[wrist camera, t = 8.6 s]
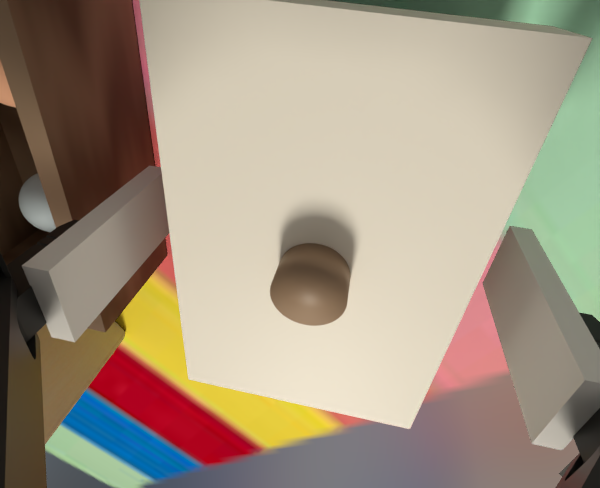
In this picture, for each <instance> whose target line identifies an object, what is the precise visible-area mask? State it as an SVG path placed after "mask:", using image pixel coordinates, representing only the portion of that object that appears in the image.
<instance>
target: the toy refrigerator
mask: <svg viewBox="0 0 600 488" xmlns="http://www.w3.org/2000/svg"><path fill="white" fill-rule="evenodd" d="M37 334H38V337H39V339H40V351H41V373H42V395H43V417H44V439H45V444H46V442H47V441H48V440H49V438H50V437H51V436H52V435H53V433H54V432H55V431H56V429H57V428H58V427H59V425H60V424H61V422H62V421H63V420H64V418H65V417H66V416H67V414H68V413H69V412H70V410H71V409H72V408H73V406H74V405H75V404H76V402H77V401H78V399H79V398H80V397H81V395H82V394H83V393H84V391H85V390H86V389H87V387H88V386H89V385H90V383H91V382H92V381H93V379H94V378H95V377H96V375H97V374H98V373H99V371H100V370H101V369H102V367H103V366H104V364H105V363H106V362H107V361H108V359H109V358H110V357H111V355H112V354H113V352H114V351H115V350H116V348H117V347H118V346H119V344H120V343H121V342H122V340H123V338H124V336H125V331H124V330H123V329H122V328H121V327H120V326H119V325H118V324H117V323H116V322H115V321H114V323H113V324H112V325H111V326H110V328H109V329H108V330H107V331H106V332H102V331H97V330H92V329H88V328H87V329H86V330H85V331H84V333H83V334H82V335H81V336H80V337H79V338H78V340H77V341H76V342H71V341H67V340H62V339H58V338H53V337H51V334H50V332H49V330H48V327H47V325H46V324H45V325H44V326H43V327H42V328H41V329H40V330H39V331H38V332H37Z"/></svg>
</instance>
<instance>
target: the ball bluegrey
mask: <svg viewBox="0 0 600 488" xmlns="http://www.w3.org/2000/svg"><path fill="white" fill-rule="evenodd" d="M19 207H20V210H21V212H22V214H23V216H24V217H25V218H26V220H27V221H28V222H29V223H31V224H32V225H33V226H35V227H36V228H38V229H41V230H43V231H46V232H52V231H53V230H54V229H56V227H55V224H54V221H53V217H52V214H51V211H50V208H49V205H48V202H47V199H46V196H45V193H44V190H43V187H42V184H41V181H40V178H39V175H38V173H37V174H35V175H33V176H31V177H30V178H29V179H28V180H27V181H26V182H25V183H24V184H23V186H22V187H21V190H20V193H19Z"/></svg>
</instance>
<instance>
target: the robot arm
mask: <svg viewBox="0 0 600 488" xmlns="http://www.w3.org/2000/svg"><path fill="white" fill-rule="evenodd" d="M168 234H169V225H168V217H167V210H166V202H165V194H164V187H163V179H162V171H161V167H155V166H148V167H147V168H146V169H144V170H143V171H142V172H141V173H139V174H138V175H137V176H135V177H134V178H133V179H132V180H130V181H129V182H128V183H126V184H125V185H124V186H123V187H121V188H120V189H119V190H118V191H116V192H115V193H114V194H112V195H111V196H110V197H109V198H107V199H106V200H105V201H104V202H102V203H101V204H100V205H98V206H97V207H96V208H95V209H93V210H92V211H91V212H90V213H88V214H87V215H86V216H84V217H83V218H82V219H81V220H72V221H70V222H67V223H65V224H63V225H60V226H58V227H57V228H56V229H54V230H53V231H52V232H50V233H49V234H48V235H47V237H44V238H42V239H41V240H40V241H38V242H37V245H36V244H34V245H33V246H32V247H30V248H29V249H28V250H26V251H25V252H24V253H22V254H21V255H20V256H18V257H17V258H16V259H14V260H13V261H12V262H10V263H9V264H8V265H6V263H5V261H4V259H3V257H2V254H1V252H0V488H47V484H46V462H45V439H44V417H43V395H42V373H41V351H40V339H39V337H38V334H37V332H38V331H39V330H40V329H41V328H42V327H43V326H44V325H45V324H46V325H47V327H48V330H49V332H50V334H51V337H53V338H58V339H62V340H67V341H71V342H76V341H77V340H78V338H79V337H80V336H81V335H82V334H83V333H84V331H85V330H86V329H87V328H88V327H89V326H90V324H91V323H92V322H93V321H94V320H95V319H96V317H97V316H98V315H99V314H100V313H101V312H102V310H103V309H104V308H105V307H106V306H107V305H108V303H109V302H110V301H111V300H112V299H113V298H114V297H115V295H116V294H117V293H118V292H119V291H120V290H121V288H122V287H123V286H124V285H125V284H126V283H127V281H128V280H129V279H130V278H131V277H132V276H133V274H134V273H135V272H136V271H137V270H138V269H139V267H140V266H141V265H142V264H143V263H144V262H145V260H146V259H147V258H148V257H149V256H150V255H151V254H152V252H153V251H154V250H155V249H156V248H157V247H158V245H159V244H160V243H161V242H162V241H163V240H164V238H165V237H166V236H167V235H168ZM483 286H484V290H485V293H486V296H487V299H488V303H489V306H490V309H491V312H492V316H493V319H494V322H495V326H496V329H497V332H498V335H499V339H500V342H501V345H502V348H503V352H504V355H505V358H506V362H507V365H508V368H509V371H510V375H511V378H512V381H513V384H514V388H515V391H516V394H517V397H518V401H519V404H520V407H521V411H522V414H523V417H524V420H525V423H526V427H527V430H528V433H529V436H530V440H531V443H532V444H536V445H540V446H545V447H549V448H554V449H558V450H563V449H564V448H565V447H566V446H567V444H568V443H569V442H570V441H571V440H572V439H573V438H574V440H575V442H576V445H577V447H578V450H579V452H580V453H579V454H578V455H577V456H576V457H575V459H573V460H572V461H571V462H570V463H569V464H568V465H567V466H566V467H565V468H564V469H563V470H562V471H561V472H560V473H559V474H560V475H561V476H562V478H561V480H560V482H559V483H558V485H557V487H556V488H600V322H599V321H598V320H597V319H596V318H595V317H593V316H592V315H589V314H584V313H579V312H578V310H577V308H576V306H575V305H574V303H573V301H572V299H571V298H570V296H569V294H568V292H567V291H566V289H565V287H564V285H563V283H562V282H561V280H560V278H559V276H558V275H557V273H556V271H555V269H554V268H553V266H552V264H551V262H550V261H549V259H548V257H547V255H546V253H545V252H544V250H543V248H542V246H541V245H540V243H539V241H538V239H537V238H536V236H535V234H534V232H533V231H532V229H526V228H520V227H514V226H510V227H509V229H508V231H507V233H506V235H505V237H504V239H503V241H502V244H501V246H500V248H499V250H498V252H497V254H496V256H495V258H494V260H493V262H492V264H491V267H490V269H489V271H488V273H487V275H486V277H485V279H484V281H483Z"/></svg>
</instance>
